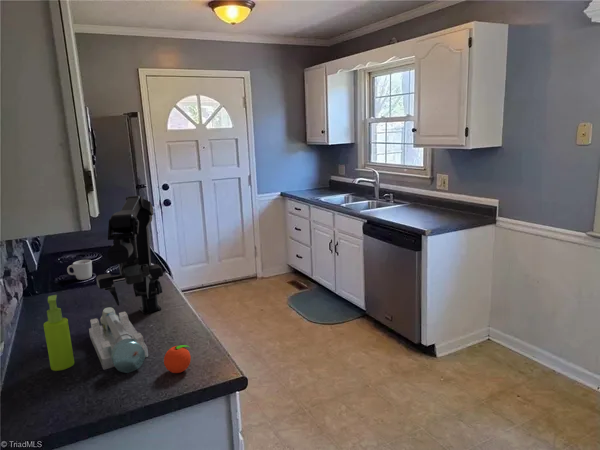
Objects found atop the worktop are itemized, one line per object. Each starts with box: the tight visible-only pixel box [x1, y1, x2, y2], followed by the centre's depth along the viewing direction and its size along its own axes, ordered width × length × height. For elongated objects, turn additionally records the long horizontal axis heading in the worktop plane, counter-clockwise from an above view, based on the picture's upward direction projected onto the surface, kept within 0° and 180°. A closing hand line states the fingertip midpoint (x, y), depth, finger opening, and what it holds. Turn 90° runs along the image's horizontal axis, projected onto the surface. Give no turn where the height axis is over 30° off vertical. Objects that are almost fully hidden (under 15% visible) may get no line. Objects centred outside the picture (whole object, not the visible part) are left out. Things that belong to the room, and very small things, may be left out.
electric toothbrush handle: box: [99, 306, 132, 344], centre depth 130 cm, size 5×7×25 cm
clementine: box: [163, 344, 193, 374], centre depth 115 cm, size 8×7×7 cm
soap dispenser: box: [43, 294, 75, 372], centre depth 120 cm, size 6×7×20 cm
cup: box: [66, 259, 93, 281], centre depth 200 cm, size 11×8×8 cm
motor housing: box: [88, 311, 149, 374], centre depth 128 cm, size 31×12×8 cm, turn 33°
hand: (133, 301), depth 136 cm, fingers open, 9 cm apart
